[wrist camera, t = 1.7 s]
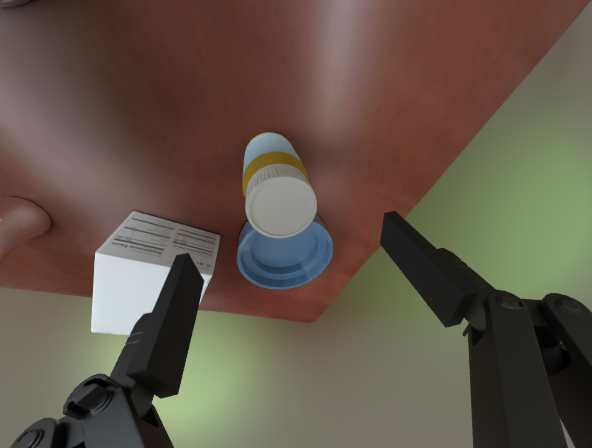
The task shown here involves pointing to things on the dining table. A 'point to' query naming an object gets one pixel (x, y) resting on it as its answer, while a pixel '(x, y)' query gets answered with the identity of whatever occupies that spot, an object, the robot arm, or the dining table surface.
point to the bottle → (276, 187)
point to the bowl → (284, 256)
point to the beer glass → (19, 224)
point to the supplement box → (143, 268)
